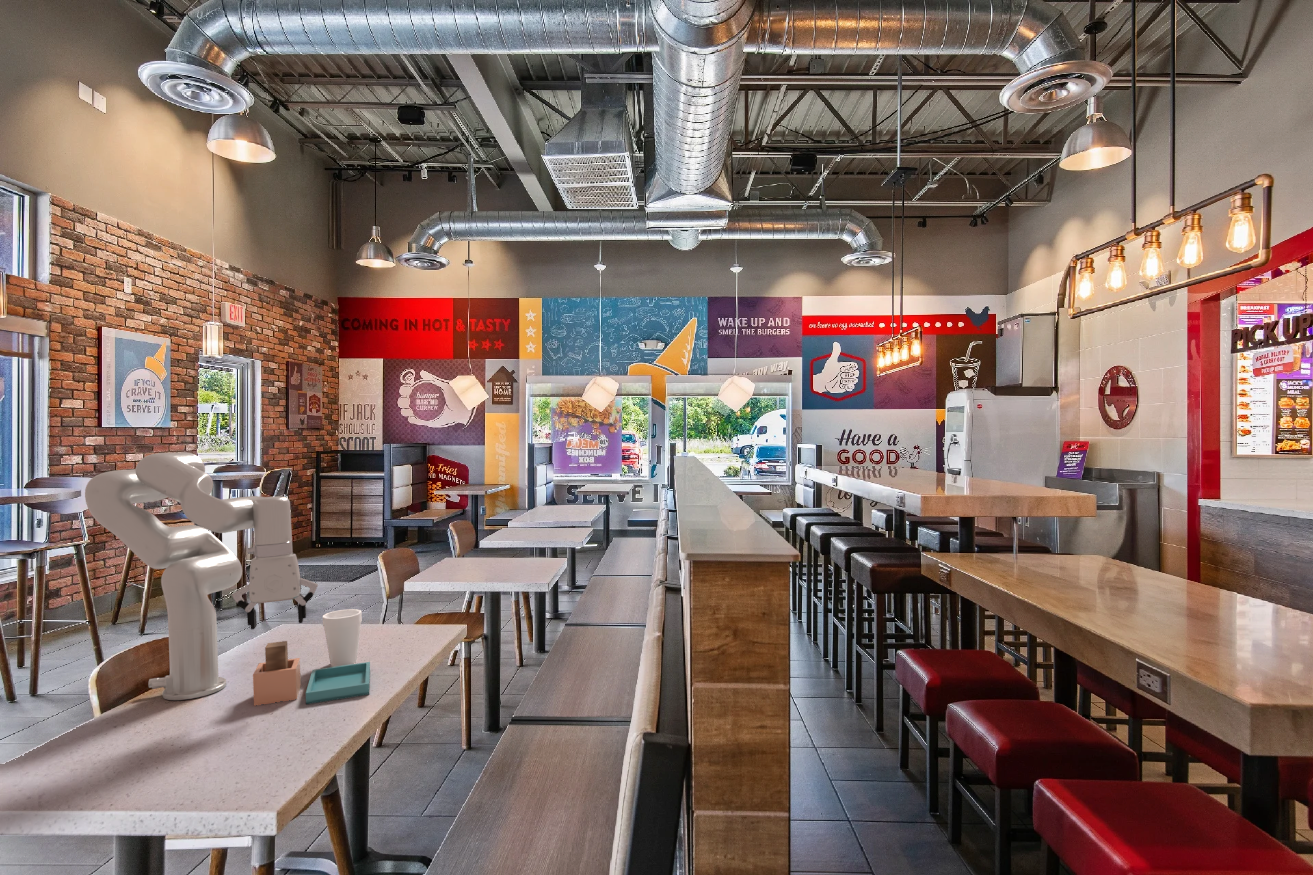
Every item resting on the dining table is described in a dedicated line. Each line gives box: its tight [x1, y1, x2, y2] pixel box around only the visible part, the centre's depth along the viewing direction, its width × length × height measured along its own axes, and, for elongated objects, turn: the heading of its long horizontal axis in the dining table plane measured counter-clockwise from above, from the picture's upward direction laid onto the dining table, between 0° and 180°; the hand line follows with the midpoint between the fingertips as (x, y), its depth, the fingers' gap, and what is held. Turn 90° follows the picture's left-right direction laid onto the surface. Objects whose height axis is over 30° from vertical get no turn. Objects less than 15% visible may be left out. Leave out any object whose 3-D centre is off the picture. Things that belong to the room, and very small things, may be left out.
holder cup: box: [252, 657, 302, 707], centre depth 159 cm, size 8×8×7 cm
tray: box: [305, 661, 371, 705], centre depth 164 cm, size 13×17×2 cm
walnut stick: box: [264, 640, 289, 671], centre depth 159 cm, size 4×4×12 cm
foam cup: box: [322, 608, 363, 667], centre depth 182 cm, size 10×9×13 cm
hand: (277, 624), depth 159 cm, fingers open, 9 cm apart
